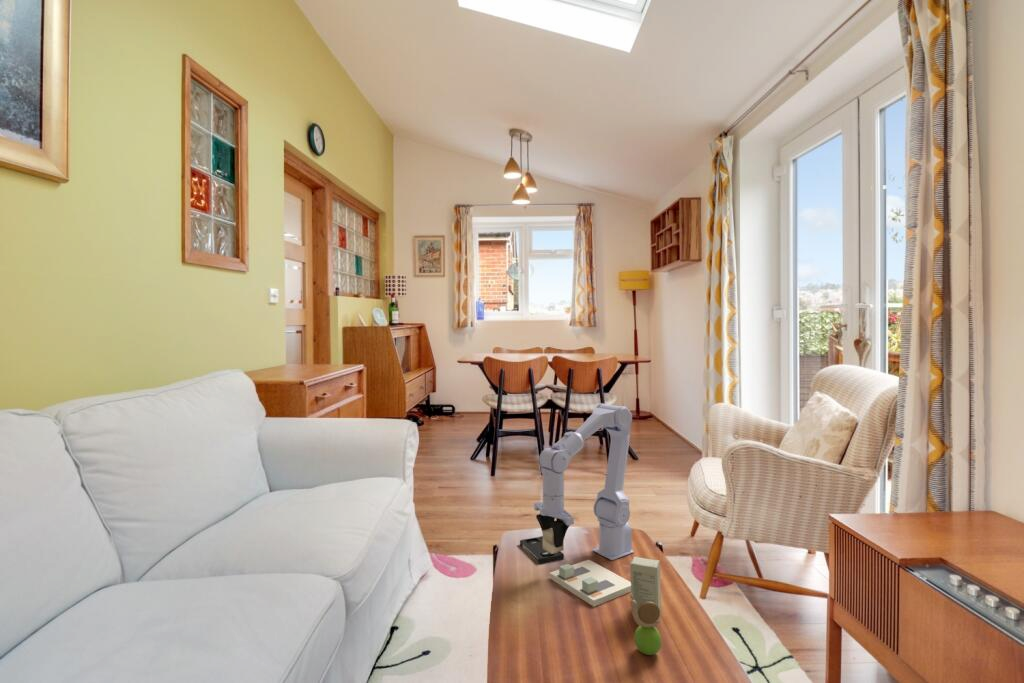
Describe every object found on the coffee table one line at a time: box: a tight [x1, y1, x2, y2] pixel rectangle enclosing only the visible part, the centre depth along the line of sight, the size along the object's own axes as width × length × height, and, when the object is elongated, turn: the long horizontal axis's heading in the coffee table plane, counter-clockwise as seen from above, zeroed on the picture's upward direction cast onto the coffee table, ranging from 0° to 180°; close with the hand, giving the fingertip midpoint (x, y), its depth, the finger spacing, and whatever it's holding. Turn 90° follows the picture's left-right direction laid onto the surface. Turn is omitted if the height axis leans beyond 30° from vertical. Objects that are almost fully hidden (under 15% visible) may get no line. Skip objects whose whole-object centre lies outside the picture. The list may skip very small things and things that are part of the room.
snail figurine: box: [629, 593, 663, 656], centre depth 102 cm, size 5×6×12 cm
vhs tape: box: [519, 535, 565, 565], centre depth 149 cm, size 14×8×2 cm, turn 22°
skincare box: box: [629, 556, 662, 620], centre depth 116 cm, size 6×4×12 cm
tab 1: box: [558, 563, 574, 579], centre depth 131 cm, size 3×2×2 cm
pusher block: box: [542, 528, 565, 554], centre depth 135 cm, size 4×4×5 cm
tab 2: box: [582, 577, 598, 593], centre depth 124 cm, size 3×2×2 cm
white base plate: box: [549, 559, 631, 608], centre depth 130 cm, size 14×17×2 cm
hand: (553, 543), depth 135 cm, fingers closed on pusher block, 4 cm apart
